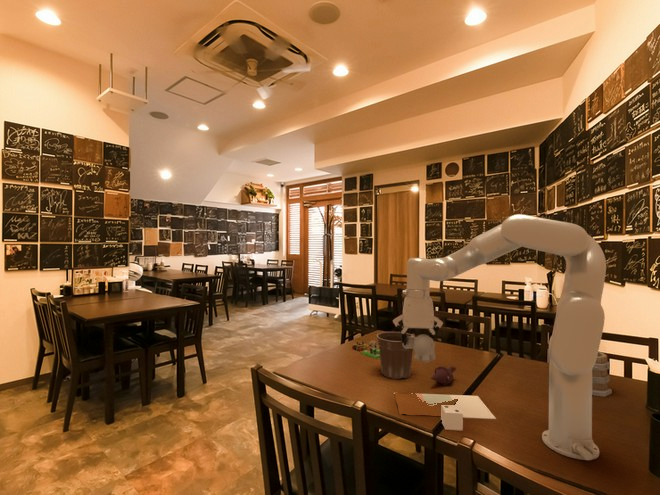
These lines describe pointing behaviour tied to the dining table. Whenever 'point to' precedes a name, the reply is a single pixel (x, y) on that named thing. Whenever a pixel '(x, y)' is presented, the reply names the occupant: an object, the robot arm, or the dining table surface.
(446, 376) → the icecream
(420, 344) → the round bodied animal figurine
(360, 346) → the toy garden set
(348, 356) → the dining table surface
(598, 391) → the tankard
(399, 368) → the plant pot
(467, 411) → the game mat
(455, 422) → the die
